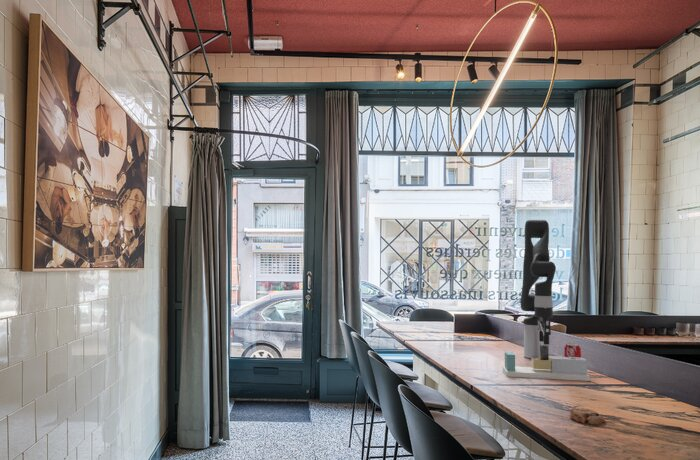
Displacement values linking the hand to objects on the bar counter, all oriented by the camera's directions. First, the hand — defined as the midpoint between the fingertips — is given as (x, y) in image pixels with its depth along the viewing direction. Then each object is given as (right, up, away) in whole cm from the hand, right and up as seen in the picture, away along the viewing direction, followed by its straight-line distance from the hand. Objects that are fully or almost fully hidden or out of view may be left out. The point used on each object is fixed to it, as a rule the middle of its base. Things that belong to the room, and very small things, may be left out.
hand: (544, 342), depth 208 cm
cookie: (-11, -10, -60) cm, 62 cm away
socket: (-15, -12, +2) cm, 19 cm away
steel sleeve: (+9, -12, -2) cm, 16 cm away
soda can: (+18, -15, +10) cm, 25 cm away
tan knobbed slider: (+5, -11, -2) cm, 12 cm away
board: (0, -14, -1) cm, 14 cm away
